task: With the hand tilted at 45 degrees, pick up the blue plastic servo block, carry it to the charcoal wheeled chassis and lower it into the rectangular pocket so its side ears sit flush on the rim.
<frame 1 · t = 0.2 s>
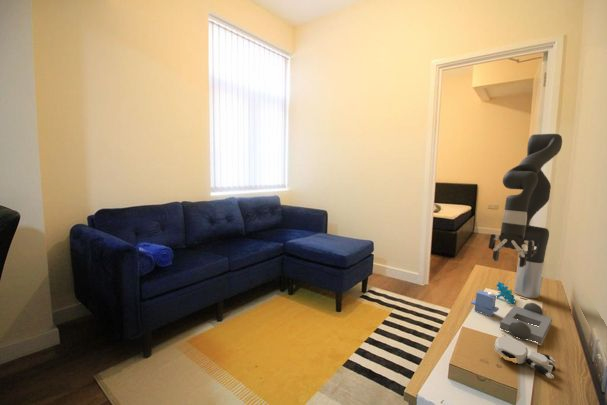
hand: (508, 263, 110), 23 cm above the table, tool pointing down, fingers open, 8 cm apart
chassis: (525, 327, 107), on the table
robot toy: (522, 363, 87), on the table
servo: (483, 312, 117), on the table
gear: (505, 300, 129), on the table
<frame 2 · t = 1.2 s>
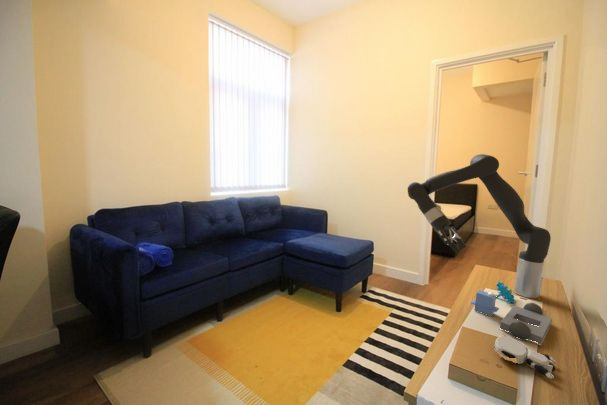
hand: (460, 249, 122), 24 cm above the table, tool tilted 45°, fingers open, 8 cm apart
nothing on the table moved.
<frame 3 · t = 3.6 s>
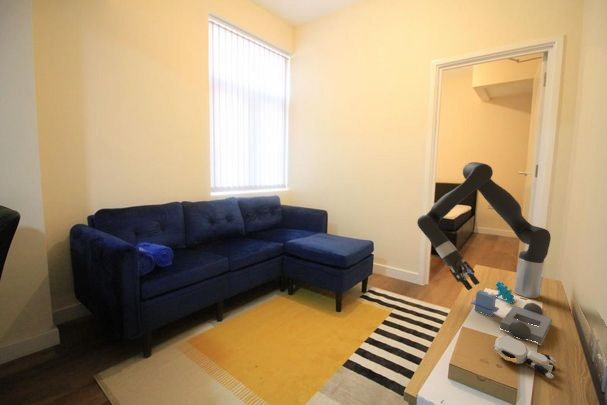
hand: (474, 286, 119), 9 cm above the table, tool tilted 45°, fingers open, 8 cm apart
nothing on the table moved.
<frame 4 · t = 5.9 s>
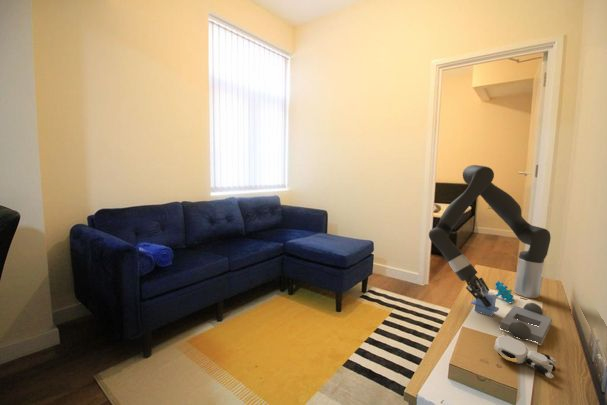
hand: (490, 304, 115), 4 cm above the table, tool tilted 45°, fingers closed on servo, 4 cm apart
servo: (484, 311, 117), on the table, touching gripper
everything else where it was.
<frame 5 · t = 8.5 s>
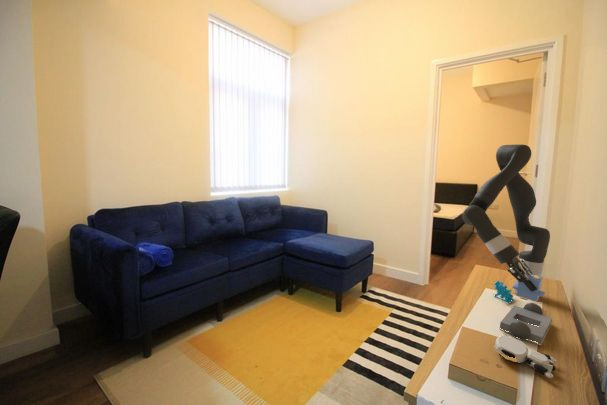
hand: (535, 288, 104), 16 cm above the table, tool tilted 45°, fingers closed on servo, 4 cm apart
servo: (527, 297, 106), point 12 cm above the table, touching gripper
everything else where it was.
when the fingers open (6 cm above the table, at t = 11.5 s): servo stays where it is, resting on chassis.
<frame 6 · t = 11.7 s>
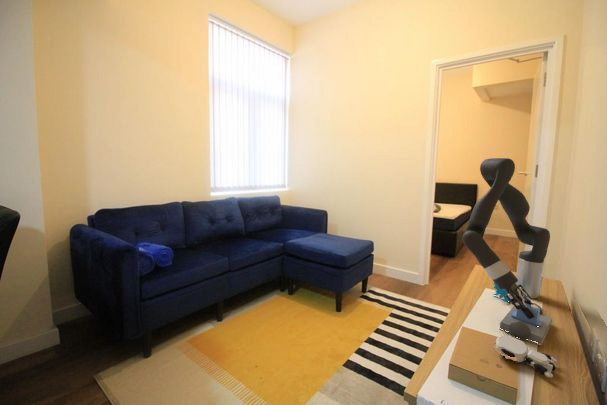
hand: (533, 314, 105), 6 cm above the table, tool tilted 45°, fingers open, 6 cm apart
servo: (525, 325, 107), resting on chassis
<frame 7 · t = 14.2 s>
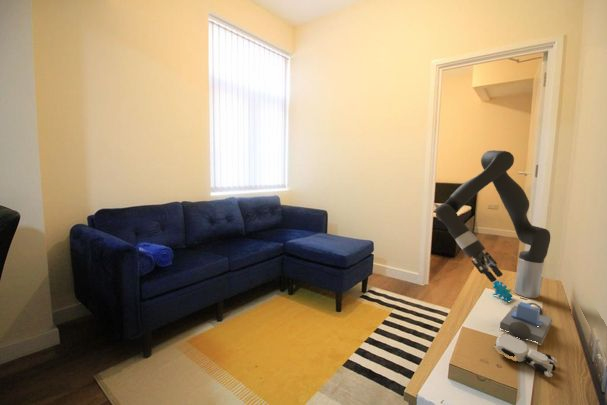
hand: (497, 278, 113), 16 cm above the table, tool tilted 45°, fingers open, 8 cm apart
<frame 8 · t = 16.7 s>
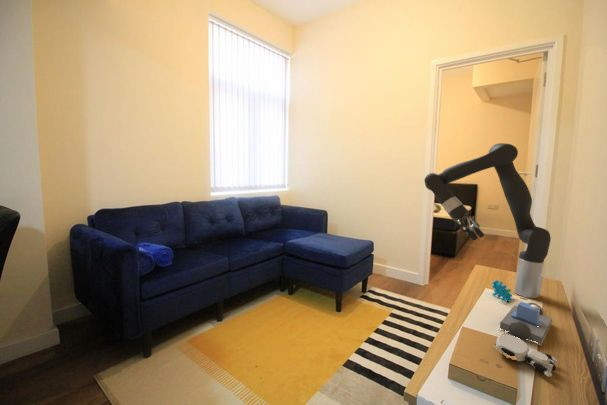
hand: (479, 238, 124), 29 cm above the table, tool tilted 45°, fingers open, 8 cm apart
at the end: servo 0.0 cm off-centre on the chassis, point 0.5 cm above the chassis's base; servo tilted 0°; the gripper is holding nothing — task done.
